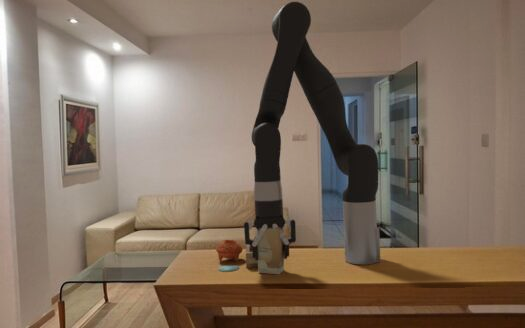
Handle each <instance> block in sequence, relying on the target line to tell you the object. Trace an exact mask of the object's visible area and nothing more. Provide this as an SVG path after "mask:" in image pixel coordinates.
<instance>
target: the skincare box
mask: <svg viewBox="0 0 525 328" xmlns="http://www.w3.org/2000/svg"><path fill="white" fill-rule="evenodd" d="M260 229H261V228H260ZM280 230H281V231H282V233H284V227H283V228H282V229H281V228H280V227H279V228H267V229H266V230H265V232H264V234H263V235H262V237H261V239H260V240H259V242H258V244H257V245H258V267H257V271H258V272H257V273H260V274H271V275H280V274H281V273H283V272H284V271H285V259H284V242H283V240H282V239H281V238H280ZM256 231H257V232H256V234H258V233H259V231H260V230H258V229H257V228H256Z"/></svg>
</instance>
